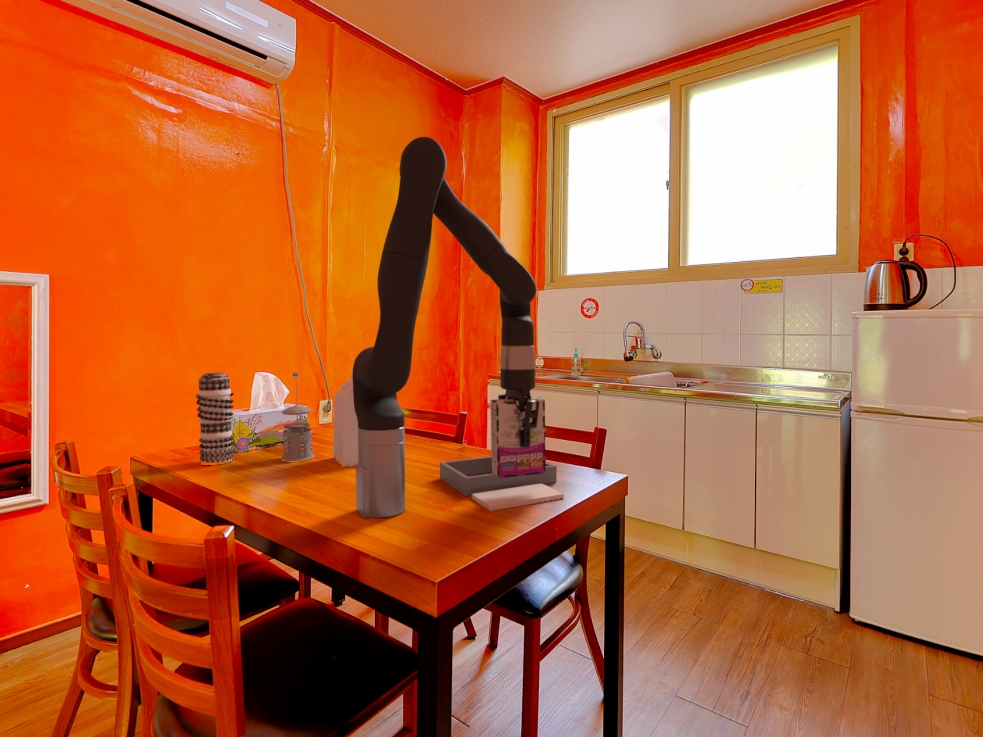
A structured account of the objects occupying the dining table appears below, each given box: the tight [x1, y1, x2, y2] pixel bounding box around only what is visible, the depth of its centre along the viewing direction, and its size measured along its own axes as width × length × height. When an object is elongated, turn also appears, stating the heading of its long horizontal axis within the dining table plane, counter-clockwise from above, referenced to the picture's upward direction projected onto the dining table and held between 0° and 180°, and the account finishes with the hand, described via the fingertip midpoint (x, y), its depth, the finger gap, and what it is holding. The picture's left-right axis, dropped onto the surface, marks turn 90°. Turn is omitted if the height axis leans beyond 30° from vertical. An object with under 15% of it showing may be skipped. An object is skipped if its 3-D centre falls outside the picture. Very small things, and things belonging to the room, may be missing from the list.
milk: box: [332, 368, 358, 467], centre depth 146 cm, size 12×12×26 cm
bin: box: [439, 455, 558, 497], centre depth 127 cm, size 24×16×4 cm, turn 117°
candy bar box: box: [490, 396, 546, 478], centre depth 112 cm, size 11×5×16 cm, turn 108°
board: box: [471, 483, 565, 512], centre depth 113 cm, size 18×9×1 cm, turn 117°
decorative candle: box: [195, 372, 235, 463], centre depth 144 cm, size 9×9×25 cm
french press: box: [280, 371, 315, 461], centre depth 148 cm, size 10×12×25 cm
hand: (517, 443), depth 112 cm, fingers closed on candy bar box, 5 cm apart
